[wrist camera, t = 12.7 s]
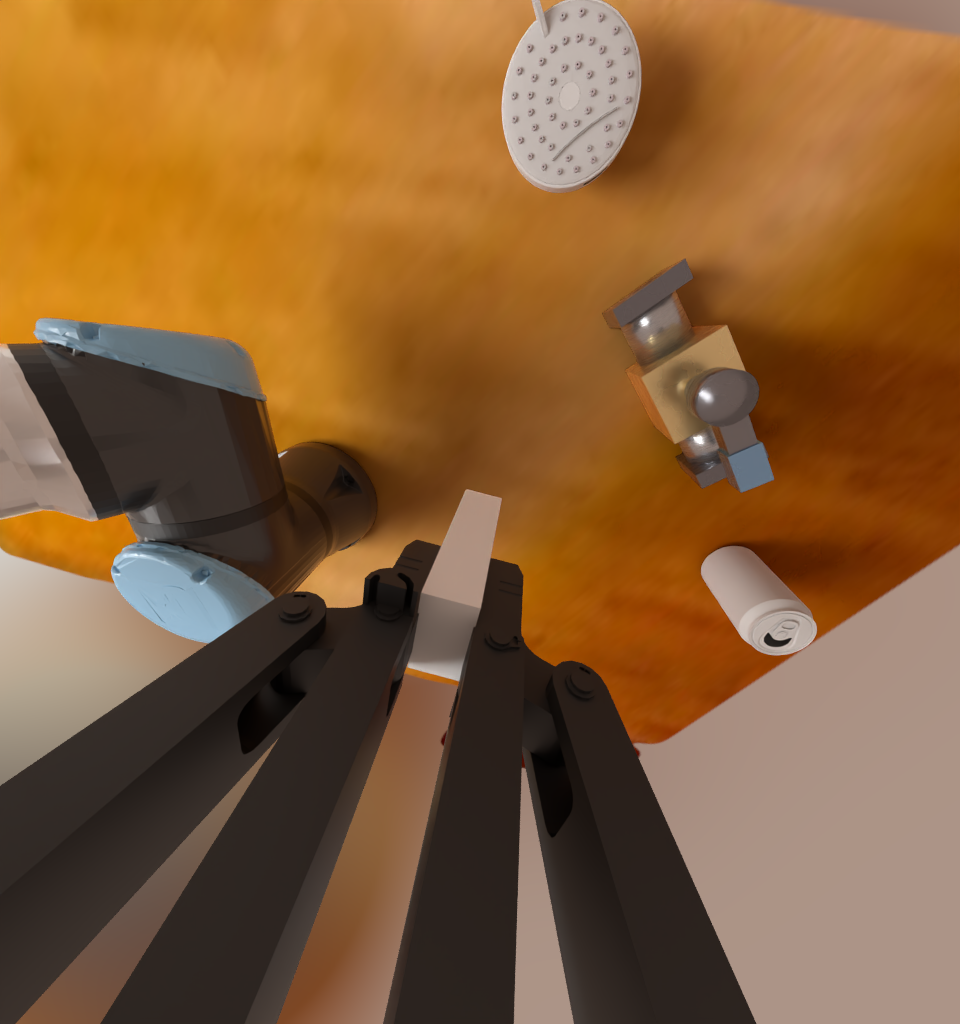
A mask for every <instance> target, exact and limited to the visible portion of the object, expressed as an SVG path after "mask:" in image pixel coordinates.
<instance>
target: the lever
mask: <svg viewBox="0 0 960 1024" xmlns="http://www.w3.org/2000/svg"><path fill="white" fill-rule="evenodd" d="M758 397H759V386H758V383H757V381H756V379H755V378H754V377H753V376H752V375H751V374H750V373H748V372H746V371H743V370H738V369H732V368H727V367H715V368H711V369H708V370H706V371H704V372H702V373H701V374H700V375H698V376H697V377H696V378H695V379H694V380H693V382H692V383H691V384H690V386H689V388H688V391H687V394H686V405H687V408H688V410H689V411H690V413H691V414H692V415H694V416H695V417H697V418H699V419H700V420H702V421H704V422H706V423H708V424H710V425H711V427H712V430H713V432H714V435H715V438H716V440H717V443H718V446H719V449H716V450H717V453H718V455H719V458H720V461H721V463H722V466H723V468H724V471H725V474H726V476H727V479H728V482H729V484H731V485H732V486H733V487H734V488H736V489H737V490H738V491H739V492H741V493H742V492H744V491H747V490H749V489H752V488H754V487H757V486H759V485H762V484H764V483H767V482H769V481H772V480H774V477H773V474H772V471H771V468H770V465H769V462H768V459H767V456H766V453H765V450H764V447H763V444H762V442H760V441H758V440H757V438H756V435H755V432H754V429H753V426H752V423H751V421H750V418H749V415H748V414H749V413H750V412H751V411H752V410H753V408H754V407H755V405H756V403H757V400H758Z"/></svg>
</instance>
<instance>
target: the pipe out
mask: <svg viewBox="0 0 960 1024" xmlns="http://www.w3.org/2000/svg"><path fill="white" fill-rule="evenodd" d="M678 443H679V445H680V447H681V449H682V451H683V453H682V454H680V455H678V456H676V459H677V461H678V463H679V465H680V466H681V468H682V469H683V470H684V471H685V472H686V473H687V474H688V475H689V476H690V477H691V478H692V479H693V480H694V481H695V482H696V483H697V484H698V485H699V486H700V487H701V488H705V487H707V486H709V485H711V484H713V483H715V482H717V481H719V480H722V479H724V478H726V477H727V476H726V474H725V471H724V468H723V466H722V463H721V461H720V458H719V455H718V453H717V450H716V449H719V446H718V443H717V440H716V438H715V435H714V432H713V430H712V427H711V425H710V426H708V427H706V428H705V429H703V430H701V431H699V432H697V433H695V434H693V435H691V436H689V437H688V438H686V439H684V440H682V441H680V442H678ZM762 444H763V443H762ZM763 447H764V450H765V453H766V456H767V458H768V457H769V456H768V454H767V451H766V449H765V446H764V444H763Z"/></svg>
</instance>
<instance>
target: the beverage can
mask: <svg viewBox="0 0 960 1024" xmlns="http://www.w3.org/2000/svg"><path fill="white" fill-rule="evenodd" d="M701 575H702V578H703V579H704V581H705V582H706V584H707V585H708V587H709V588H710V590H711V592H712V593H713V595H714V596H715V598H716V599H717V601H718V602H719V604H720V605H721V607H722V608H723V610H724V611H725V613H726V614H727V616H728V617H729V619H730V620H731V622H732V623H733V625H734V626H735V628H736V629H737V631H738V632H739V634H740V635H741V637H742V638H743V639H744V640H745V641H746V642H747V643H749V644H751V645H752V646H753V647H754V648H755V649H756V650H758V651H760V652H762V653H765V654H769V655H786V654H790V653H794V652H797V651H799V650H801V649H803V648H805V647H806V646H807V645H809V644H810V643H811V642H812V640H813V639H814V637H815V635H816V632H817V626H816V623H815V622H814V620H813V617H812V613H811V611H810V610H809V609H808V608H807V607H806V606H805V605H804V604H803V602H802V601H801V600H800V599H799V598H798V597H797V596H796V595H795V594H794V593H793V592H792V591H791V590H790V589H789V588H788V587H787V586H786V585H785V584H784V583H783V582H782V581H781V580H780V579H779V578H778V577H777V576H776V575H775V574H774V573H773V572H772V571H771V570H770V569H769V567H768V566H767V565H766V564H765V563H764V562H763V561H762V560H761V559H760V558H759V557H758V556H757V555H756V554H755V553H754V552H753V551H751V550H750V549H748V548H745V547H742V546H727V547H723V548H720V549H718V550H716V551H714V552H712V553H711V554H710V555H709V556H708V557H707V558H706V559H705V560H704V562H703V564H702V567H701Z"/></svg>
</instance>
